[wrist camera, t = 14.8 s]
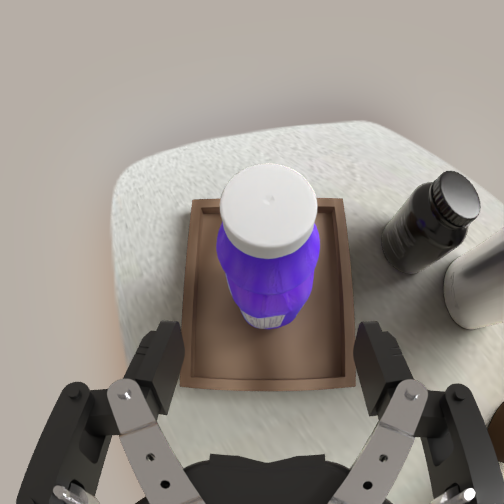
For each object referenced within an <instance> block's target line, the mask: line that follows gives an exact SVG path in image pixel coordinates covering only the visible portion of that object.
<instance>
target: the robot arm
mask: <svg viewBox="0 0 504 504" xmlns="http://www.w3.org/2000/svg"><path fill="white" fill-rule="evenodd" d="M444 298H445V303H446V306H447V309H448V311H449V313H450V315H451V317H452V318H453V319H454V321H455V322H456V323H457V324H458V325H460V326H461V327H463V328H465V329H471V330H472V329H477V328H481V327H486V326H490V325H495V324H499V323H503V322H504V227H503V228H502V229H501V230H499V231H498V232H496V233H495V234H494V235H492V236H491V237H489V238H488V239H486V240H485V241H483V242H482V243H480V244H479V245H477V246H476V247H474V248H473V249H471V250H470V251H468V252H467V253H465V254H464V255H462V256H460V257H459V258H457V259H456V260H454V261H453V262H452V263H451V265H450V266H449V268H448V270H447V272H446V275H445V278H444ZM184 357H185V347H184V342H183V338H182V333H181V329H180V324H179V322H177V321H161V322H160V324H159V326H158V328H157V331H150V332H149V333H148V334H147V335H145V336H144V337H143V339H142V341H141V343H140V345H139V348H138V349H137V351H136V354H135V355H134V357H133V359H132V361H131V363H130V365H129V367H128V369H127V371H126V374H125V376H124V378H123V379H120V380H117V381H115V382H114V383H112V384H111V385H110V387H109V388H108V389H103V390H89V388H88V386H87V385H86V384H84V383H82V382H73V383H70V384H68V385H67V386H66V387H65V388H64V389H63V390H62V392H61V394H60V396H59V398H58V400H57V402H56V404H55V406H54V408H53V411H52V412H51V415H50V417H49V419H48V421H47V423H46V425H45V427H44V430H43V432H42V434H41V437H40V439H39V441H38V444H37V446H36V449H35V450H34V453H33V455H32V458H31V460H30V463H29V465H28V468H27V471H26V473H25V476H24V479H23V481H22V484H21V488H20V490H19V493H18V496H17V500H16V504H100V502H99V501H98V500H97V498H95V493H96V490H97V486H98V482H99V478H100V475H101V471H102V468H103V464H104V461H105V457H106V454H107V451H108V447H109V444H110V441H111V438H112V435H119V438H120V441H121V443H122V446H123V448H124V451H125V453H126V456H127V457H128V460H129V463H130V465H131V467H132V469H133V471H134V473H135V475H136V478H137V480H138V482H139V484H140V486H141V488H142V489H143V492H144V493H145V496H146V497H144V498H143V499H141V500H140V501H138V502H137V503H135V504H393V503H391V502H390V501H389V500H387V499H386V496H387V495H388V493H389V491H390V489H391V488H392V486H393V484H394V482H395V480H396V478H397V476H398V474H399V472H400V470H401V468H402V466H403V464H404V462H405V460H406V458H407V456H408V454H409V451H410V449H411V447H412V445H413V442H414V440H415V437H421V441H422V445H423V449H424V453H425V457H426V462H427V466H428V471H429V476H430V481H431V486H432V492H433V497H434V500H433V501H432V502H431V503H430V504H504V480H503V476H502V473H501V469H500V466H499V463H498V460H497V456H496V453H495V450H494V447H493V445H492V442H491V439H490V436H489V433H488V431H487V428H486V426H485V423H484V420H483V418H482V416H481V413H480V411H479V408H478V406H477V404H476V401H475V399H474V397H473V395H472V392H471V391H470V389H469V388H468V387H466V386H465V385H462V384H452V385H450V386H449V387H448V388H447V389H446V391H445V392H441V391H430V390H427V389H426V387H425V386H424V385H423V384H422V383H421V382H419V381H417V380H414V379H413V376H412V374H411V372H410V370H409V367H408V365H407V363H406V361H405V359H404V356H403V355H402V352H401V350H400V349H399V346H398V343H397V341H396V339H395V338H394V337H393V336H392V335H391V334H390V333H389V332H388V331H387V332H382V330H381V328H380V326H379V323H378V322H377V321H371V322H361V323H360V324H359V328H358V332H357V336H356V340H355V344H354V348H353V358H354V362H355V366H356V369H357V373H358V376H359V380H360V384H361V387H362V391H363V395H364V398H365V402H366V406H367V410H368V414H369V416H376V415H378V419H379V421H378V423H377V425H376V427H375V428H374V430H373V432H372V434H371V435H370V437H369V439H368V441H367V442H366V444H365V446H364V447H363V449H362V450H361V452H360V454H359V455H358V457H357V458H356V460H355V461H354V463H353V464H352V466H351V467H350V469H348V468H347V467H345V466H343V465H340V464H338V463H334V462H330V461H325V454H322V455H309V456H296V457H292V458H288V459H284V460H280V461H275V462H271V463H264V462H260V461H256V460H252V459H248V458H244V457H240V456H231V455H218V454H210V459H209V460H207V461H202V462H198V463H195V464H192V465H190V466H187V467H186V468H183V467H182V465H181V464H180V462H179V460H178V459H177V457H176V455H175V454H174V452H173V450H172V449H171V447H170V445H169V443H168V442H167V440H166V438H165V436H164V434H163V432H162V431H161V429H160V427H159V425H158V423H157V418H158V415H159V414H163V415H167V414H168V410H169V407H170V403H171V400H172V397H173V393H174V390H175V387H176V383H177V380H178V377H179V374H180V370H181V367H182V364H183V361H184Z"/></svg>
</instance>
